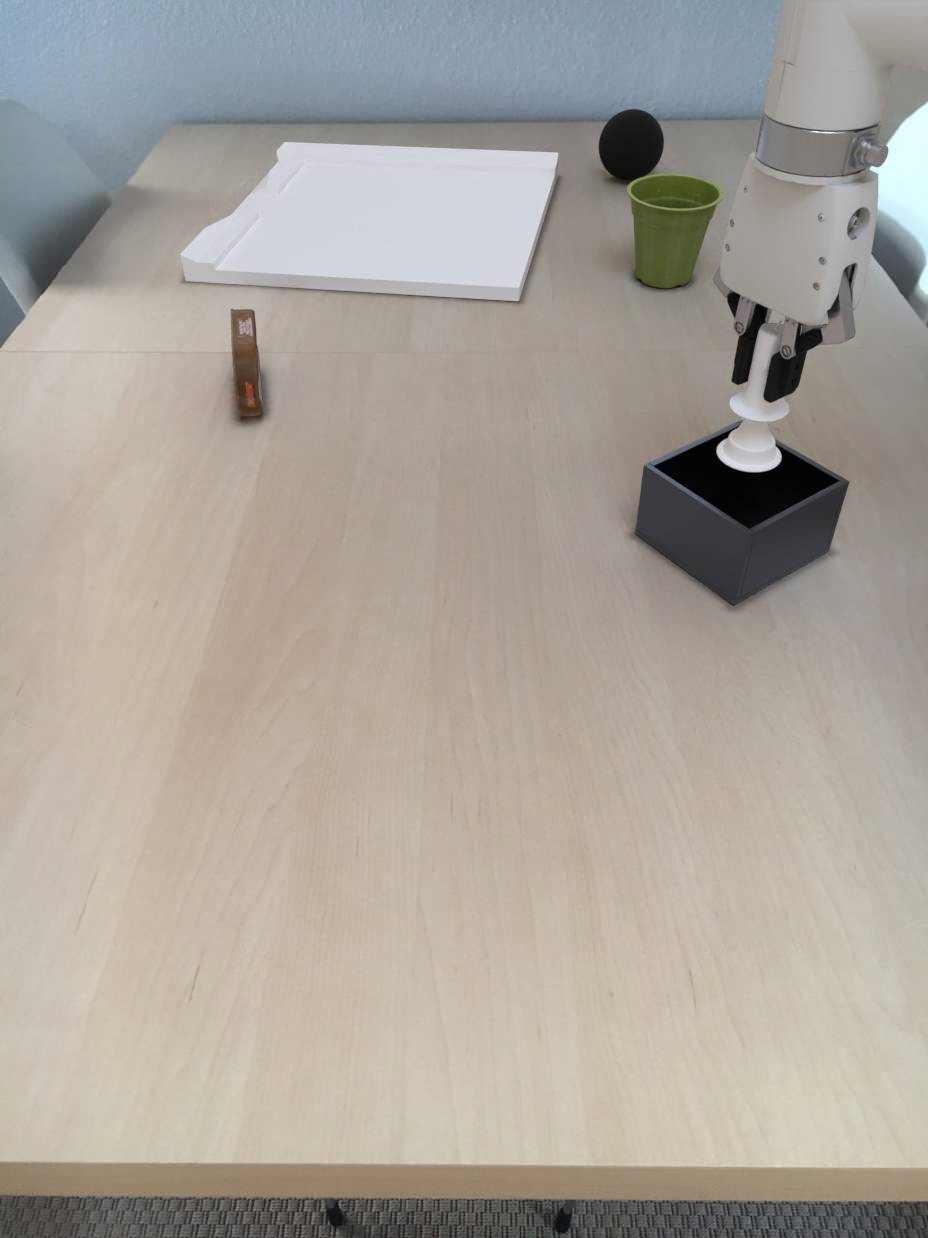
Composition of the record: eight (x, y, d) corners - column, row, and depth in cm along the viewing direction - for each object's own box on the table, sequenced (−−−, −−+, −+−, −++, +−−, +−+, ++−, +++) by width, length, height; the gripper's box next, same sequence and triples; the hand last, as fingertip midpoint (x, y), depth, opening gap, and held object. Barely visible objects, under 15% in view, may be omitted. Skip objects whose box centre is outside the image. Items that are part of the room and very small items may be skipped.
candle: (752, 431, 86) (780, 300, 78) (794, 462, 82) (828, 327, 74) (703, 448, 84) (726, 316, 76) (744, 480, 81) (773, 345, 72)
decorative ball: (588, 185, 155) (592, 116, 148) (606, 164, 162) (611, 97, 155) (650, 193, 152) (658, 123, 145) (666, 171, 159) (674, 103, 152)
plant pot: (626, 299, 126) (635, 209, 118) (612, 260, 134) (620, 174, 127) (718, 296, 126) (733, 206, 118) (699, 257, 135) (712, 171, 127)
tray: (518, 301, 126) (519, 273, 123) (185, 280, 132) (179, 254, 130) (557, 176, 158) (558, 152, 156) (288, 164, 165) (284, 141, 162)
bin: (728, 487, 96) (741, 419, 91) (829, 551, 89) (850, 481, 83) (634, 534, 91) (643, 465, 86) (733, 606, 83) (749, 535, 78)
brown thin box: (237, 364, 116) (224, 295, 110) (264, 361, 116) (253, 292, 110) (240, 432, 105) (225, 360, 99) (270, 429, 105) (257, 357, 99)
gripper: (955, 164, 63) (877, 415, 76) (761, 104, 73) (721, 335, 85) (879, 191, 60) (811, 448, 72) (688, 124, 70) (657, 361, 82)
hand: (763, 385), depth 79 cm, fingers closed on candle, 2 cm apart
